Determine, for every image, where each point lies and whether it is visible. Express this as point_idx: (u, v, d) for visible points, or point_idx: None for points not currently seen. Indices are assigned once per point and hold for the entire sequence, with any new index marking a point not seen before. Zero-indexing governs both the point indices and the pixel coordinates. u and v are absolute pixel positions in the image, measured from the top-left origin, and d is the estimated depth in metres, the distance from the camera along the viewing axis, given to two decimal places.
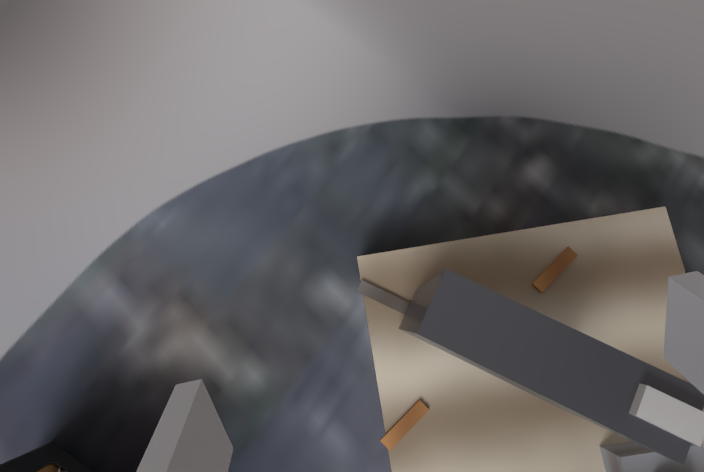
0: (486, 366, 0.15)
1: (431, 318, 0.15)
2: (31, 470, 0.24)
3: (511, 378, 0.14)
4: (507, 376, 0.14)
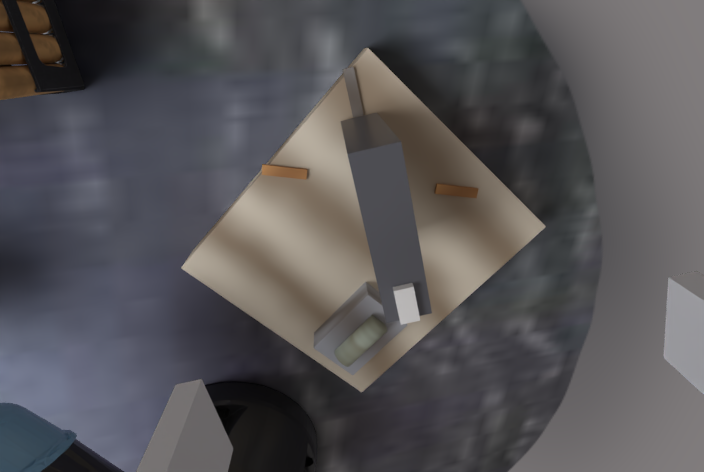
0: (360, 205, 0.20)
1: (363, 155, 0.20)
2: None
3: (364, 223, 0.21)
4: (363, 220, 0.21)
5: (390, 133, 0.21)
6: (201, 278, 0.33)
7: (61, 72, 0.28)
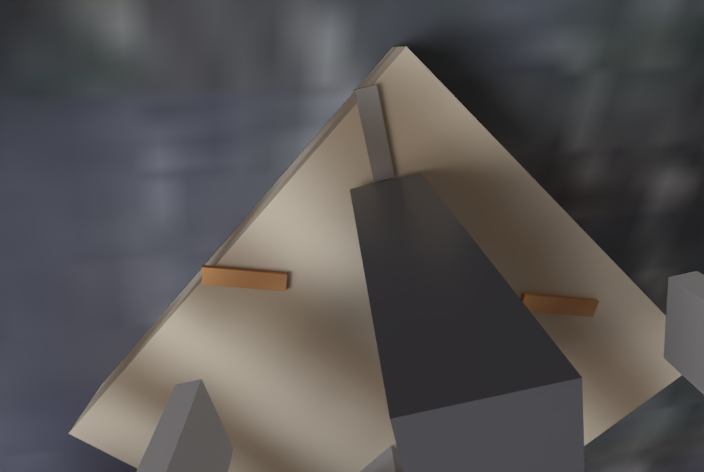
0: None
1: (445, 421, 0.06)
2: None
3: None
4: None
5: (501, 289, 0.08)
6: (107, 447, 0.19)
7: None
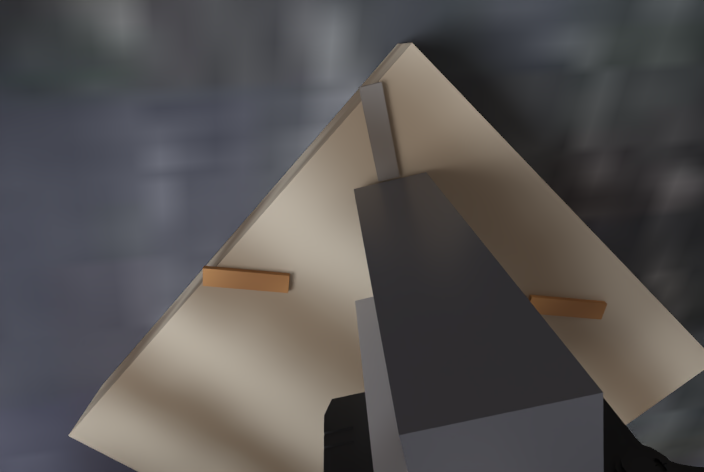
0: None
1: (457, 438, 0.05)
2: None
3: None
4: None
5: (513, 295, 0.07)
6: (107, 449, 0.19)
7: None
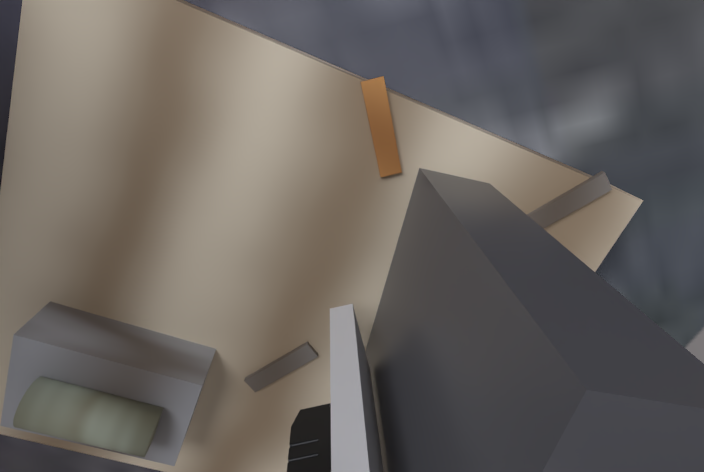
0: None
1: (630, 413, 0.05)
2: None
3: None
4: None
5: (636, 312, 0.07)
6: (33, 6, 0.12)
7: None
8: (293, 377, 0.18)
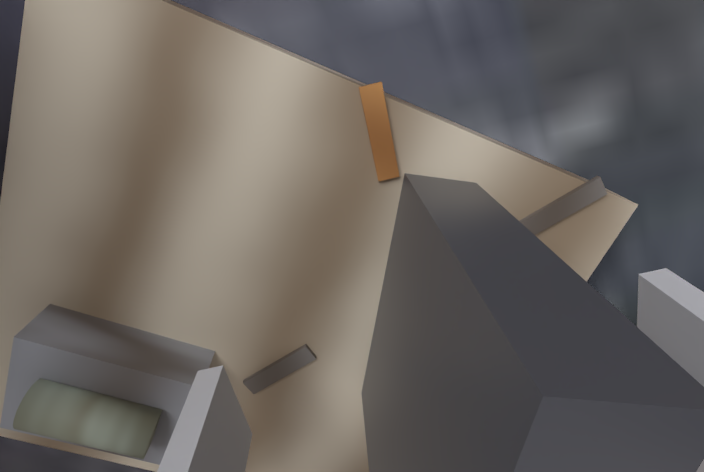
0: None
1: (590, 416, 0.05)
2: None
3: None
4: None
5: (609, 309, 0.07)
6: (35, 12, 0.12)
7: None
8: (291, 379, 0.18)
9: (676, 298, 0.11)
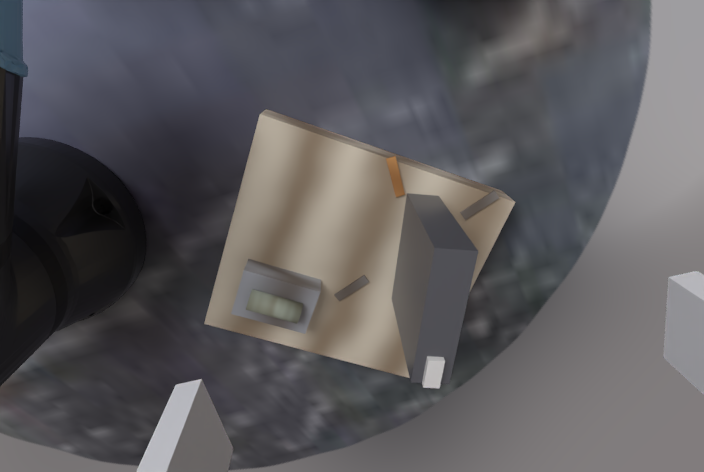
0: (428, 288, 0.25)
1: (445, 252, 0.24)
2: None
3: (426, 302, 0.25)
4: (426, 299, 0.25)
5: (464, 235, 0.26)
6: (258, 137, 0.32)
7: None
8: (357, 293, 0.37)
9: None
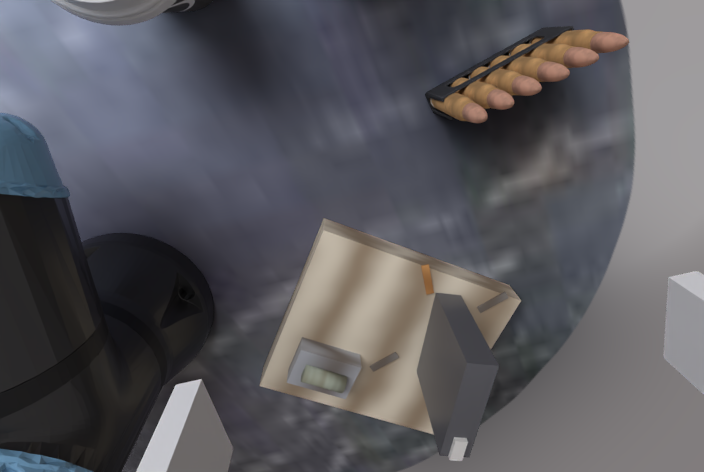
0: (459, 390, 0.33)
1: (475, 366, 0.32)
2: None
3: (457, 399, 0.33)
4: (457, 398, 0.33)
5: (486, 346, 0.34)
6: (320, 247, 0.39)
7: None
8: (388, 365, 0.44)
9: None
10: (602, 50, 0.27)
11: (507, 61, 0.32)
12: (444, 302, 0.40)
